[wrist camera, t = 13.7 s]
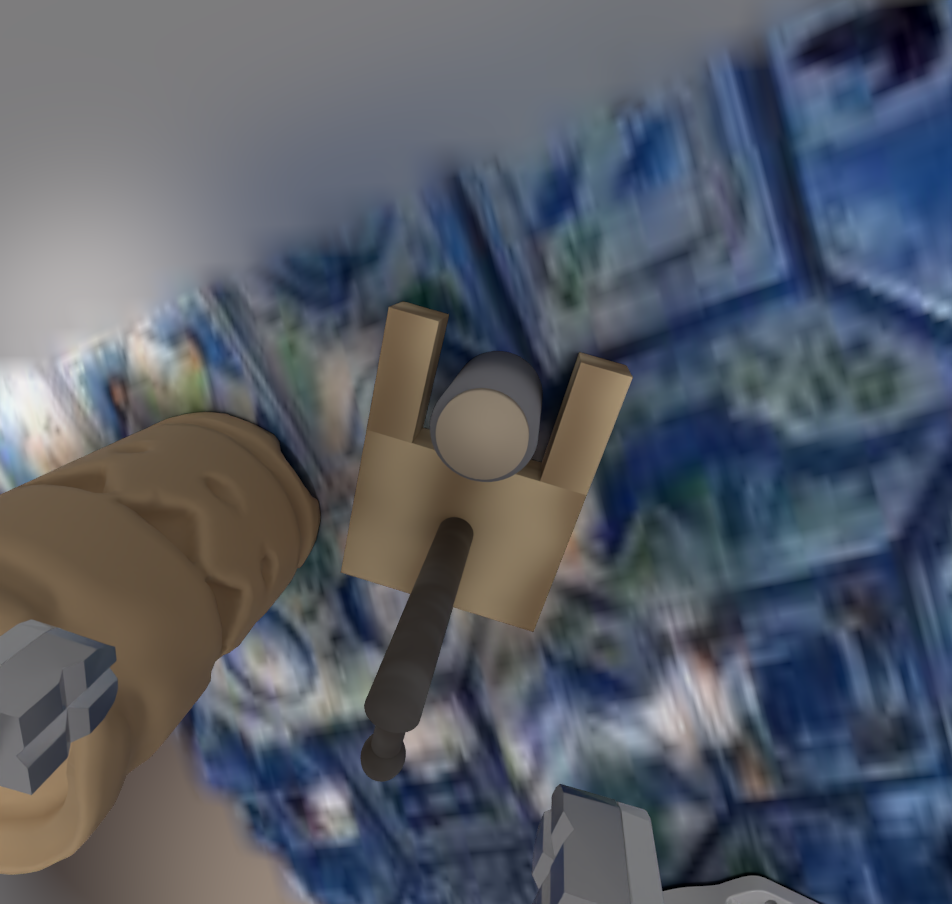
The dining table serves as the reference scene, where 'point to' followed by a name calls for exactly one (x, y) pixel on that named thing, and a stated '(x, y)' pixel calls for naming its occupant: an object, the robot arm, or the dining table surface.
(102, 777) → the container
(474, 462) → the grey cylinder peg
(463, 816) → the dining table surface
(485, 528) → the wooden hook stand
